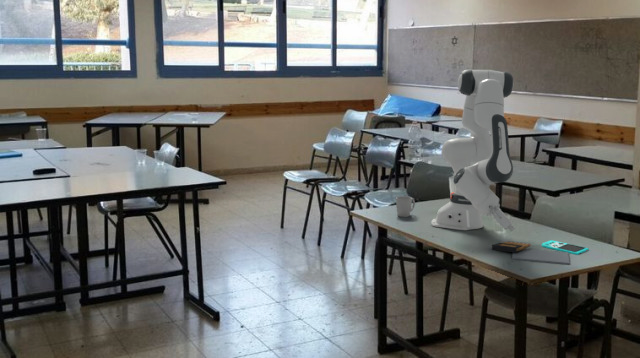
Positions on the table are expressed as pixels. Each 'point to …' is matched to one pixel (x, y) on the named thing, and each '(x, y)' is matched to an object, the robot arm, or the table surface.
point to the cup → (404, 206)
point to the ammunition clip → (510, 246)
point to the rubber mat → (542, 256)
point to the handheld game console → (564, 247)
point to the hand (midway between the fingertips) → (512, 229)
